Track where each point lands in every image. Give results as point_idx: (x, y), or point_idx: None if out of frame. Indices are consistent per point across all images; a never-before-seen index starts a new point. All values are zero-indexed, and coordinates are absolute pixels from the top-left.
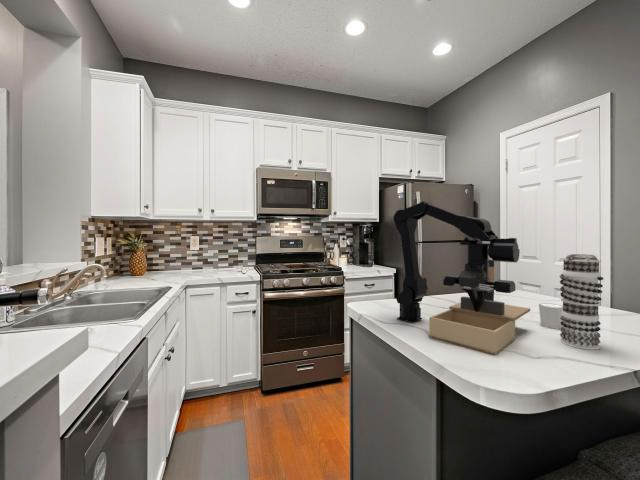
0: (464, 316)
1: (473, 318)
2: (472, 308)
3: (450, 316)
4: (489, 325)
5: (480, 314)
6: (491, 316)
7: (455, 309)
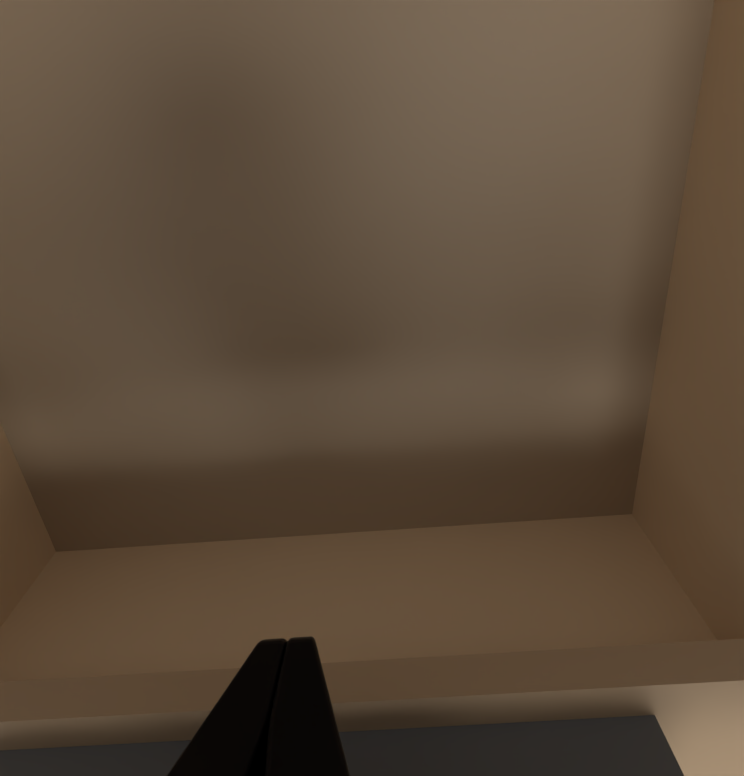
0: (553, 623)
1: (431, 627)
2: (450, 756)
3: (719, 512)
4: (243, 600)
5: None
6: (135, 681)
7: (719, 649)
